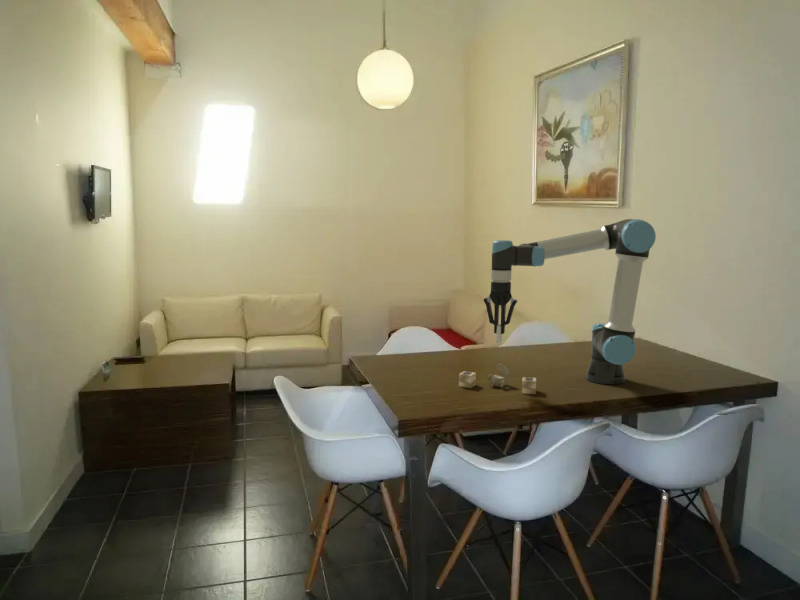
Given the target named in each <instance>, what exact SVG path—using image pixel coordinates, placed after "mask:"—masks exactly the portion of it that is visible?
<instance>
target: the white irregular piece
mask: <svg viewBox="0 0 800 600" xmlns="http://www.w3.org/2000/svg"><path fill="white" fill-rule="evenodd" d="M496 370H497V371H498V372H500V373H501V375H502V376H501V375H499V374H494V375H493V374H492V373H489V374H488V376H487V381H488V382H489V383H490V384H491V387H496V388H497V387H498V388H501V389H503V388H504V387H505V386H507V385H508V383H507V382H508V378H509V377H510V370H509V369H508V368H507V367H506V366H505V365H504V364H501V363H497V365H496Z"/></svg>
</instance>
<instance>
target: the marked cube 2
mask: <svg viewBox="0 0 800 600" xmlns="http://www.w3.org/2000/svg"><path fill="white" fill-rule="evenodd" d="M521 380H522V381H521V382H522V384H521V386H522V387H521V390H522V391H521V394H527V395H536V393H537V377H525V376H523V377H522V379H521Z"/></svg>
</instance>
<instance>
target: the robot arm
mask: <svg viewBox="0 0 800 600" xmlns="http://www.w3.org/2000/svg"><path fill="white" fill-rule="evenodd" d="M656 236H657V235H656V231H655V228H654V227H653V226H652V225H651V224H650V223H649V222H647V221H646V220H643V219H639V218H637V219H635V218H634V219H632V218H629V219H623V220H620V221H617V222H614V223H610V224H606V225H602V226H601V227H600V228H599V229H595V230H594V229H593V230H590V231H584V232H579V233H574V234H568V235H564V236H559V237H554V238H549V239H544V240H539V241H536V242H535V241H534V242H528V243H520V244H519V245H514V244H513V243H514V242H513V241H512V240H504V239H503V240H502V239H500V240H494V241H493V242H492V246H491V247H492V248H491V249H492V250H491V273H490V274H491V275H490V280H491V282H490V293H489V295H488V296H487V297H485V298H483V302H484V303H485V307H486V312H487V316H488V322H489V324H491V325H494V326H493V332H494V334H496V338H495V339H496V340H495V341H496V342H495V343H502V340H503V339H502V338H503V335H504V334H505V333H506V325H509V324H510V323H511V319H512V317H513V313H514V309H515V306H516V305H517V303H518V299H515V298H513V296H512V282H511V281H512V269H513V268H512V267H513V266H514V267H517V266H518V267H519V266H520V267H534V268H535V267H542V266H544V263H545V261H546V260H548V259H554V258H559V257H564V256H569V255H575V254H579V253H586V252H591V251H595V250H601V249H604V250H606V251H608V250H615V253H614V254H615V256H616V257H617V258H618V260H617V267H616V271H615V272H616V274H615V279H614V284H613V291H612V297H611V301H610V309H609V315H608V321H607V322H605V323H604V322H603V323H602V322H601V323H600V322H599V323H598V322H597V323H594V324H593V325H592V330H591V354H590V355H591V356H590V357H591V358H590V361H589V365H588V367H587V369H586V373H585V379H586V380H587V381H589V382H592V383H596V384H601V385H603V384H604V385H619V384H624V383H625V382H626V373H625V370H624V366H623V365H625V364H627V363H629V362H630V361H632V359H634V356H635V355H636V352H637V347H636V343H635V335H636V329H635V327H634V326H633V321H634V316H635V309H636V305H637V304H636V303H637V299H638V293H639V287H640V282H641V275H642V271H643V264H644V262H646V260H648V259H649V255H650V249H652V247H653V246H654V245H655V242H656ZM491 302H492V303H493V305H494V307H493V308H494V310H493V309H492V306H491V305H492V304H491ZM509 302H510V306H509V309H508V313H507V316H506V312H507V311H506V309H507V305H508V303H509ZM500 308H501V309H500ZM492 310H493V311H494V314H493V311H492ZM499 318H500V319H499ZM499 320H500V322H499Z"/></svg>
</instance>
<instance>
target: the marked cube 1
mask: <svg viewBox="0 0 800 600" xmlns="http://www.w3.org/2000/svg"><path fill="white" fill-rule="evenodd" d="M476 381H477V373H476V372H472V371H466V370H465V371H462V372H459V374H458V387H461V388H467V389H472V388H473V387H475V386H476V383H477V382H476Z"/></svg>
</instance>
